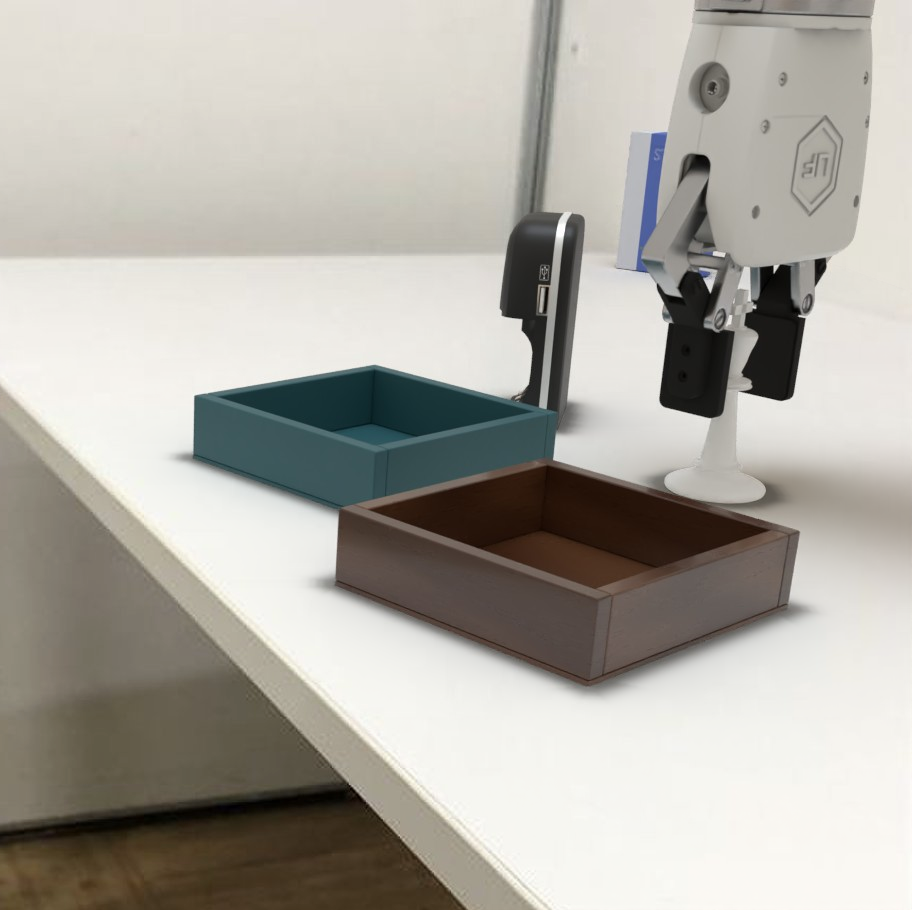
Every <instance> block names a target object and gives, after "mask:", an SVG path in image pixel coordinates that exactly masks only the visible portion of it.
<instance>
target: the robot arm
mask: <svg viewBox="0 0 912 910" xmlns="http://www.w3.org/2000/svg"><path fill="white" fill-rule="evenodd" d="M875 4H876V0H694V3H693V9H694V10H693V12H692V18H691V23H692V26H691V30H690V33H689V37H688V40H687V43H686V47H685V50H684V54H683V58H682V63H681V68H680V71H679V74H678V79H677V83H676V89H675V93H674V97H673V102H672V105H671V106H672V107H671V110H670V117H669V121H668V128H667V131H666V132H667V138H666V144H665V150H664V156H663V163H662V170H661V177H660V184H659V193H658V204H657V220H656V227H655V229H654V231H653V232H652V234H651V236H650V238H649V239H648V241H647V243H646V245H645V246H644V248H643V251H642V255H641V260H642V263H643V265H644V266H645V268H646V269H647V271H648V272H647V273H648V274H649V276H650V277H651V279H652V280H653V282H654V283H655V285H656V291H657V293H658V294H659V297H660V299H661V301H662V302H663V305H662V309H661V310H662V311H661V317H662V320H663V321H664V322H665V323H666V324H667V323H668V324H667V333H666V340H665V350H664V357H663V366H662V372H661V373H662V374H661V381H660V389H659V398H658V401H659V404H660V405H661V406H662V407H663V408H665V409H669V410H674V411H678V412H680V413H681V412H682V413H685V414H690V415H694V416H698V417H702V418H706V419H711V418H715V417H719V416H721V415H722V413H723V411H724V405H725V398H726V391H727V384H728V377H729V370H730V363H731V356H732V349H733V342H734V335H735V331H730V330H725V329H724V328H725V326H727V325H728V321H729V319H730V316H731V315H730V311H731V308H732V305H733V303H734V300H735V295H736V292H737V289H739V285H740V282H741V278H742V274H743V273H744V268H749V277H750V278H749V280H750V286H749V287H750V302H753V309H752V312H748V313H746V315H745V322H744V326H746V327H747V328H749V329H752V330H754V331H755V332H757V334H758V339H757V342H756V344H755V346H754V348H753V349H752V351H751V353H750V355H749V357H748V360H747V363H746V364H745V366H744V368H743V370H742V372H741V373H742V374H743V376H742V377H745V378H748V379H750V380H751V385H752V388H751V389H749V390H745V391H738V393H743V394H747V395H750V396H751V395H752V396H756V397H760V398H764V399H765V398H766V399H770V400H773V401H778V402H784V401H788V400H791V399H792V398H793V397H794V394H795V389H796V385H797V383H796V382H797V377H798V370H799V365H800V357H801V352H802V351H801V350H802V346H803V345H802V344H803V339H804V333H805V326H806V321H807V317H808V316H809V315H810V314H811V313H812V311H813V309H814V306H815V301H816V287H817V285H818V284H819V282H820V280H821V279H822V277H823V276H824V274H825V273H826V270H827V268H828V267H827V266H828V265H827V264H828V263H829V261H830V260H831V259H832V258H833V256H835V255H838V254H839V253H841V252H843V251H844V250H845V249H846V248H848V247H849V246H850V245H851V243H852V242H853V241H854V238H855V236H856V231H857V225H858V220H859V213H860V208H861V199H862V193H863V184H864V176H865V169H866V159H867V150H868V139H869V131H870V121H871V120H870V118H871V108H872V92H873V91H872V90H873V36H872V35H873V34H872V22H873V15H874V9H875ZM706 252H713V253H714V252H718V253H722V254H725V255H724V256H719V255H714V254H713V255H707V254H701V253H706ZM774 266H778V267H777V268H776V269H775V267H774ZM699 270H702V271H708V272H710V273H714V274H715V278H714V280H713V284H712V288H711V290H710V289H709V288H708V285H707V283H706V281H705V279H704V277H702V275H701V274H700V273H698V272H699Z"/></svg>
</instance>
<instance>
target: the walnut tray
mask: <svg viewBox="0 0 912 910" xmlns="http://www.w3.org/2000/svg"><path fill="white" fill-rule="evenodd" d="M337 516H338V518H337V536H336V539H337V541H336V557H335V573H334V579H335V581H334V586H336V587H338V588H341V589H344V590H346V591H349V592H351V593H354V594H356V595H358V596H361V597H363V598H366V599H369V600H371V601H373V602H376V603H379V604H381V605H383V606H385V607H389V608H391V609H393V610H396V611H398V612H400V613H403V614H405V615H408V616H411V617H413V618H416V619H418V620H421V621H423V622H426V623H428V624H430V625H433V626H436V627H438V628H441V629H443V630H445V631H448V632H451V633H452V634H456V635H458V636H460V637H463V638H464V639H465V638H466V639H468V640H470V641H473V642H475V643H478V644H480V645H482V646H485V647H488V648H490V649H492V650H495V651H497V652H500V653H503V654H505V655H508V656H509V657H510V656H511V657H513V658H515V659H517V660H520V661H523V662H525V663H528V664H530V665H533V666H535V667H537V668H540V669H542V670H545V671H547V672H549V673H553V674H555V675H558V676H560V677H562V678H565V679H568V680H570V681H571V682H572V681H573V682H575V683H577V684H579V685H582V686H585V687H592V686H594V685H596V684H599V683H602V682H604V681H607V680H609V679H611V678H614V677H617V676H619V675H622V674H625V673H627V672H630V671H632V670H634V669H637V668H640V667H642V666H645V665H647V664H650V663H652V662H655V661H658V660H660V659H663V658H665V657H669V656H670V655H673V654H676V653H678V652H681V651H683V650H685V649H688V648H690V647H694V646H696V645H698V644H700V643H701V644H702V643H703V642H706V641H709V640H712V639H714V638H716V637H719V636H721V635H723V634H726V633H729V632H732V631H734V630H737V629H739V628H741V627H744V626H746V625H749V624H751V623H752V624H753V623H754V622H757V621H759V620H762V619H764V618H767V617H769V616H772V615H775V614H778V613H780V612H782V611H785V610H788V609H789V604H788V603H789V601H790V596H791V590H792V585H793V584H792V583H793V578H794V571H795V565H796V559H797V553H798V548H799V547H798V546H799V541H800V534H801V531H800V530H798V529H795V528H791V527H789V526H785V525H782V524H778V523H775V522H771V521H767V520H763V519H761V518H756V517H753V516H750V515H747V514H743V513H740V512H736V511H732V510H730V509H726V508H722V507H718V506H715V505H711V504H708V503H706V502H705V503H704V502H702V501H699V500H695V499H691V498H687V497H683V496H680V495H678V494H675V493H674V494H673V493H670V492H666V491H663V490H659V489H656V488H652V487H649V486H647V485H642V484H639V483H635V482H631V481H628V480H625V479H622V478H618V477H614V476H611V475H607V474H604V473H600V472H597V471H594V470H590V469H587V468H583V467H579V466H577V465H573V464H569V463H565V462H562V461H558V460H555V459H553V460H552V459H548V458H542V459H538V460H535V461H530V462H526V463H522V464H517V465H513V466H509V467H505V468H501V469H497V470H493V471H489V472H485V473H480V474H476V475H472V476H468V477H464V478H460V479H456V480H452V481H448V482H444V483H439V484H435V485H431V486H427V487H423V488H419V489H415V490H411V491H407V492H403V493H398V494H394V495H390V496H386V497H382V498H378V499H374V500H370V501H366V502H362V503H357V504H354V505H349V506H345V507H341V508H339V510H338V515H337Z"/></svg>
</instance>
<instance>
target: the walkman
mask: <svg viewBox="0 0 912 910" xmlns="http://www.w3.org/2000/svg"><path fill="white" fill-rule="evenodd" d="M667 132H668V131H660V130H659V131H657V130H647V129H646V130H634V131H631V133H630V143H629V148H628V150H629V151H628V159H627V167H626V177H625V181H624V189H623V190H624V191H623V199H622V200H623V201H622V209H621V218H620V225H619V237H618V246H617V255H616V262H615V263H616V264H615V268H616V269H623V270H631V271H636V272H645V273H649V272H648V271H647V269H646V268H645V266H644V265H643V263H642V260H641V255H642V251H643V248H644V246H645V245H646V243H647V241H648V239H649V238H650V236H651V234H652V232H653V231H654V229H655V227H656V220H657V204H658V193H659V184H660V177H661V170H662V163H663V156H664V150H665V144H666V138H667ZM701 254H707V255H713V256H714V252H706V253H701ZM698 273H700V274H701V275H702V277H703V278H705V277H707V276H710V275H711V272H708V271H702V270H699V272H698Z"/></svg>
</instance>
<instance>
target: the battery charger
mask: <svg viewBox="0 0 912 910" xmlns="http://www.w3.org/2000/svg"><path fill="white" fill-rule="evenodd" d="M585 232H586V220H585V217H584V216H583V215H582V214H580V213H574V211H564V212H551V211H532V212H530V213H527V214H526V215H525V216H523V217H522V218H521V219H520V220H519V221H518V222H517V224H515V226H514V227H513V229H512V231H511V232H510V235H509V237H508V241H507V246H506V251H505V252H506V253H505V258H504V265H503V274H502V280H501V281H502V282H501V291H500V299H499V310H501V315H500V316H502V317H504V318H507V319H516V320H521V329H520V330H521V332H522V333H523V334H524V335H525V336H526V338H527V339H528V341H529V343H530V347H531V360H530V361H531V362H530V363H531V364H530V373H529V379H528V384H527V385H526V387H525V388H524V389H522V390H519V391H518V393H517V394H515V395H513V396H511V397H510V399H509V400H513V401H516V402H520V403H524V404H528V405H532V406H536V407H539V408H543V409H547V410H551V411H555V412H558V418H557V428H556V431H557V430H558V429H559V426H560V424H561V421H562V418H563V416H564V413H565V411H566V407H567V404H568V397H569V388H570V387H569V386H570V376H571V368H572V367H571V366H572V358H573V357H572V356H573V349H574V348H573V347H574V341H575V340H574V339H575V329H576V321H577V311H578V302H579V301H578V300H579V291H580V281H581V273H582V263H583V254H584V253H583V251H584V243H585Z"/></svg>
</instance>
